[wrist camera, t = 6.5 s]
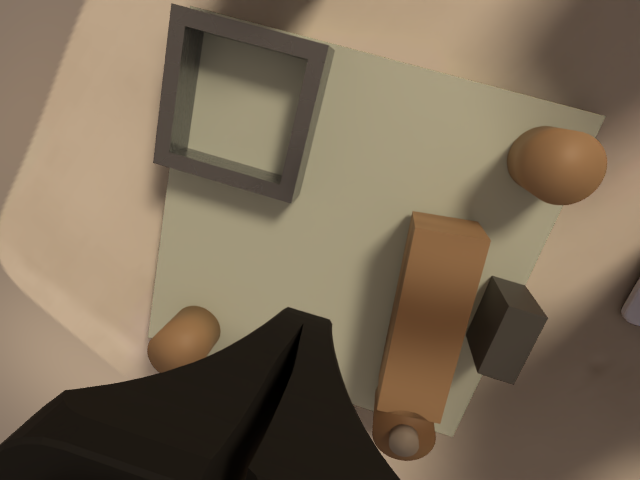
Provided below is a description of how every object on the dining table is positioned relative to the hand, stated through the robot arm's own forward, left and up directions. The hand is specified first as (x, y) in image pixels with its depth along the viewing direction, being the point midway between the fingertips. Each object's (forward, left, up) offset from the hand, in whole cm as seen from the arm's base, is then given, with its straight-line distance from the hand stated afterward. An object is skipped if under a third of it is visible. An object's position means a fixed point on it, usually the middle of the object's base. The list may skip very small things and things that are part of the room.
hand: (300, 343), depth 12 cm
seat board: (0, 0, -8) cm, 8 cm away
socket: (+5, -5, -7) cm, 10 cm away
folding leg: (-5, +2, -7) cm, 8 cm away
